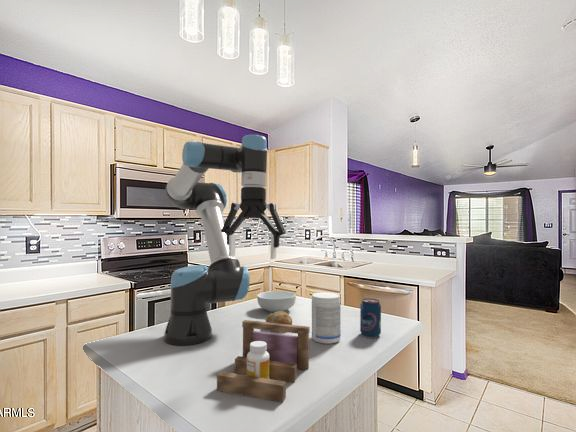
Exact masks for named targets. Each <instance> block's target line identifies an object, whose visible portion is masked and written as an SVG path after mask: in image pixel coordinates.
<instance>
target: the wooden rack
mask: <svg viewBox="0 0 576 432" xmlns="http://www.w3.org/2000/svg"><path fill="white" fill-rule="evenodd" d="M241 322H242V323H241V324H242V326H241V327H242V356H240V355H239V356H237V357H235V359H234V373H233V372H229V371H228V372H227V371H220V372H219V373H218V374H216V391H218V392H223V393H224V392H225V393H230V394H235V395H241V396H246V397H250V398H251V397H252V398H257V399H263V400H268V401H275V402H279V403H284V401H285V400H286V398H287V397H286V394H287V389H286V388H287V382H290V383H296V381H297V378H298V377H297V376H298V375H297V373H298V370H300V371H307V370H308V369H309V367H310V366H309V365H310V363H309V361H310V360H309V359H310V356H309V355H310V350H309V349H310V333H311V331H310V329H311V327H310V326H305V325H304V326H303V325H297V324H296V325H294V324H292V325H288V324H279V323H269V322H266V321H258V320H250V319H243V320H242V321H241ZM255 329H256V330H255ZM257 330H263V331H257ZM270 330H271V331H280V332H279V333H276V332H274V333H273V332H271V331H270ZM265 331H270V332H265ZM282 333H283V334H282ZM284 333H288V334H284ZM289 333H291V334H297V335H291V334H290V335H289ZM254 341H264V342H266V343H267V350H266V351H267V352H268V353H269V379H266V378H260V377H254V376H247V354H248V353H249V352H250V343H251V342H254Z"/></svg>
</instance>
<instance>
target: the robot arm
mask: <svg viewBox="0 0 576 432" xmlns="http://www.w3.org/2000/svg"><path fill="white" fill-rule="evenodd" d="M267 144H268V143H267V138H266V137H265V136H263V135H260V134H247V135H246V134H245V135H244V136H243V137H242V139H241V147H236V146H235V147H234V146H228V145H219V144H212V143H205V142H200V141H186V142H185V143H184V145H183V149H182V153H181V154H182V155H181V158H182V164H181V166H180V167H179V168H180V169H179V170H178V171H177V172H176V174H175V176H174V177H172V178H170V179H169V180H168V182H167V184H166V185H165V196H166V198H167V200H168V201H169V202H170V203H171V204H172V205H173V206H175V207H177V208H178V209H183V210H189V211H190V210H192V211H194V210H195V214H196V216H197V217H199V218H200V219H201V224H202V229H203V232H204V233H203V234H204V237H205V241H206V248H207V251H208V255H209V260H210V261H209V262H210V264H209V266H207V265H205V264H199V265H198V264H197V265H189V266H184V267H181V268H178V269H175V270H174V271H173V272H172V273H171V278H170V279H171V280H170V284H169V286H170V315H169V319H168V322H167V325H166V327H165V330H164V337H163V338H164V339H163V340H164V341H165V343H166V344H168V345H169V344H170V345H173V346H189V345H195V344H202V343H203V342H206V341H208V340H209V339H211V338H212V336H213V334H212V333H213V329H212V328H213V327H212V325H211V322H210V320H209V315H208V304H209V305H210V304H216V303H217V304H218V303H224V302H235V301H239V300H243V299H245V297H246V296H247V294H248V292H249V289H250V284H251V283H250V282H251V281H250V280H251V279H250V272H249V268H247V267H246V266H243V265H242V266H241V263H240V260H239V259H238V258H237V257H236V234H235V232H236V231H237V229H239V227H240V226H241V224H242V223H243V222H244V221H245V220H246V219H247V218H249V219H250V218H251V219H252V218H253V219H260V220H261V221H262V222H263V223H264V225H265V226H266V228H267V229H268V230H269V232H270V233H271V234H272V236H271V237H270V260H275V259H277V249H278V248H279V247H280V237H281V236H283V235H286V233H287V231H286V229H285V227H284V224H283V222H282V220H281V217H280V216H279V214H278V211H277V205H276V203H273V202H270V203H267V202H266V201H267V189H266V187H267V163H268V161H267V160H268V159H267V158H268V147H267V146H268V145H267ZM209 169H213V170H221V171H230V172H232V173H241V178H240V179H241V181H240V184H241V186H242V187H241V189H240V203H238V202H232V203H231V204H230V209H229V212H228V215H227V216H226V219H225V220H224V216H223V212H224V210H225V208H226V206H227V203H228V202H227V199H228V198H227V193H226V190H225V188H224V187H223V185H222V184H220V183H215V182H200V181H201V179H202V178H203V176H204V175H205V174H206V173H207V171H208V170H209ZM239 209H240V210H241V212H240V213H239V214H238V217H237V218H236V219H235V217H236V216H237V213H238V211H239ZM266 210H268V211H269V213H270V216H271V218H272V220H273V222H274V224H273V222H272V221H271V220H270V218H269V217H268V215H267V214H266V213H265V211H266ZM275 226H276V227H275Z"/></svg>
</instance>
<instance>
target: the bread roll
mask: <svg viewBox="0 0 576 432" xmlns="http://www.w3.org/2000/svg"><path fill="white" fill-rule="evenodd" d="M265 322H269V323H279V324H288V325H293V318H292V316H290V315H289V314H288V313H287V312H286V311H284V312H283V311H277V312H274V313H272V312H271V313H270V314H268V316H266V319H265ZM269 332H270V333H273V332H274V333H281V332H280V331H271V330H269Z"/></svg>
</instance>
